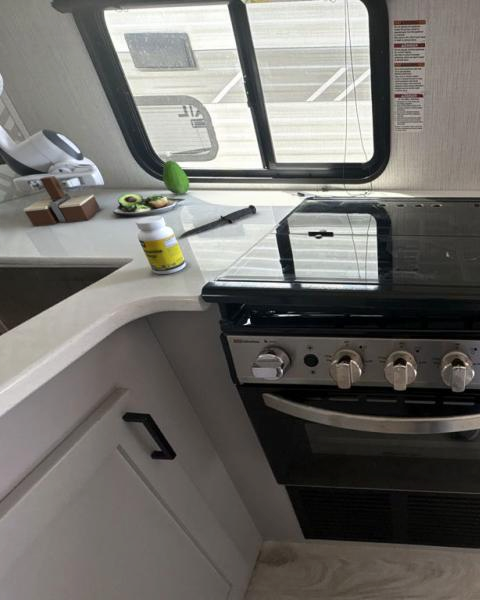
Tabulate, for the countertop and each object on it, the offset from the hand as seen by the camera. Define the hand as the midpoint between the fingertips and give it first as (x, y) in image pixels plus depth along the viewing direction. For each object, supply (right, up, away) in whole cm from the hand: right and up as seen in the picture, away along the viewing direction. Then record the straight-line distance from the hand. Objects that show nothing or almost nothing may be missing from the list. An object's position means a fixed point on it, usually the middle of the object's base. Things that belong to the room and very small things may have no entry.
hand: (50, 186), depth 97 cm
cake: (0, -8, +6) cm, 10 cm away
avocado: (+20, +7, +29) cm, 35 cm away
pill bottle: (+54, -27, -25) cm, 65 cm away
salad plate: (+19, -4, +12) cm, 23 cm away
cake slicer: (0, -8, +6) cm, 10 cm away
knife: (+51, -12, -1) cm, 53 cm away
